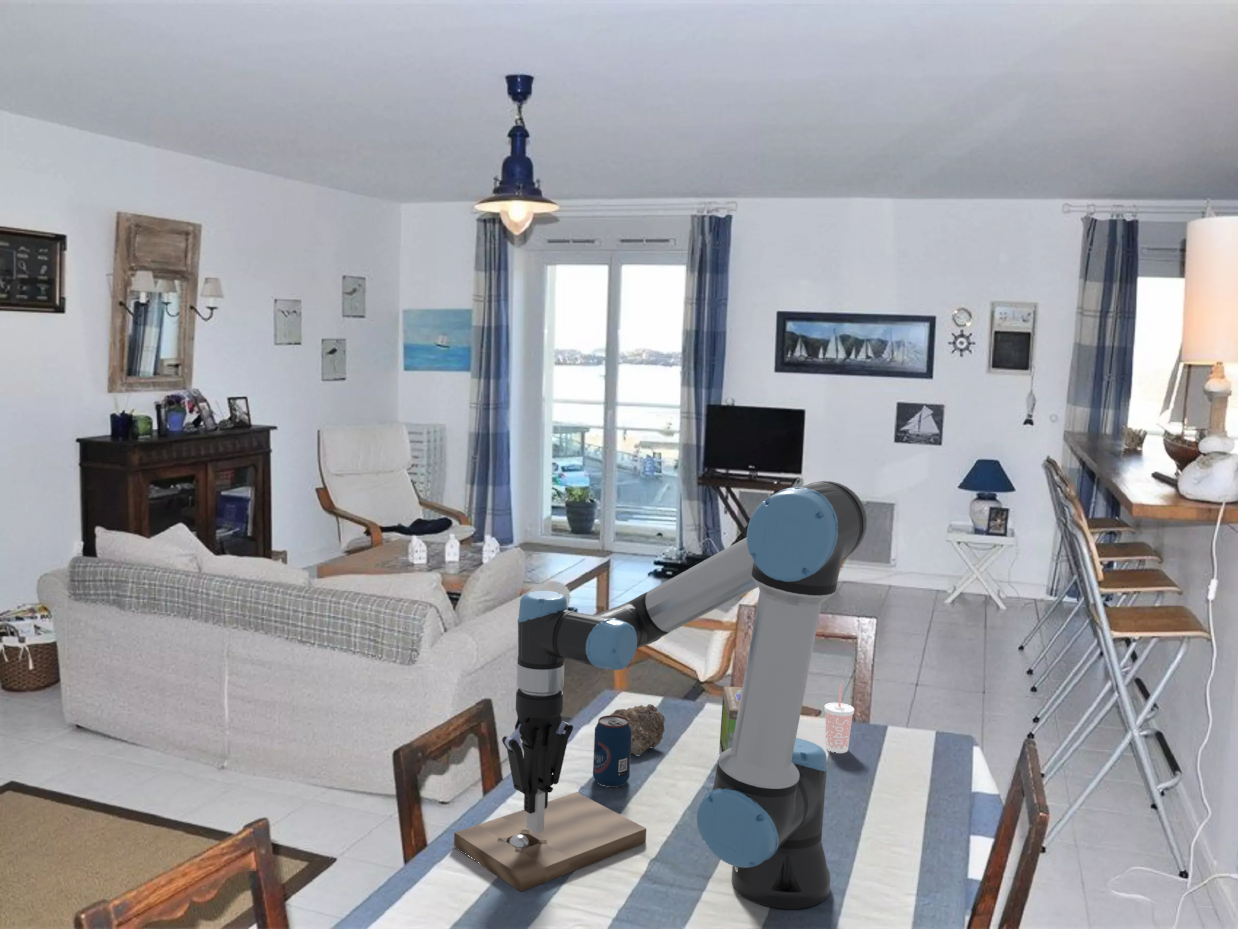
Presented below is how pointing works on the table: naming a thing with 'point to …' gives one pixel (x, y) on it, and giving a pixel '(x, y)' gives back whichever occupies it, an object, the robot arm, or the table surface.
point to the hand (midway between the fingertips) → (535, 829)
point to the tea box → (729, 716)
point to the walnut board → (550, 841)
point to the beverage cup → (838, 725)
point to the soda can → (612, 751)
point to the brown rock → (643, 726)
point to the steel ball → (519, 841)
